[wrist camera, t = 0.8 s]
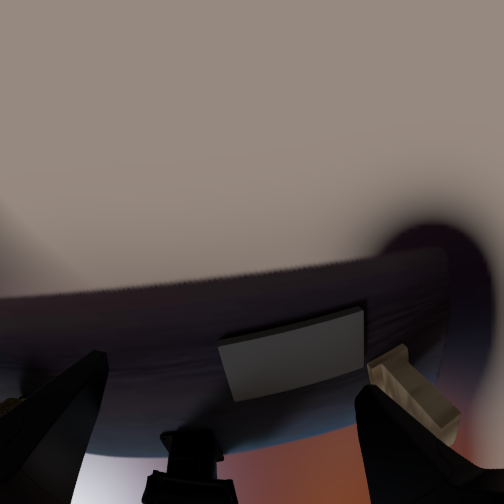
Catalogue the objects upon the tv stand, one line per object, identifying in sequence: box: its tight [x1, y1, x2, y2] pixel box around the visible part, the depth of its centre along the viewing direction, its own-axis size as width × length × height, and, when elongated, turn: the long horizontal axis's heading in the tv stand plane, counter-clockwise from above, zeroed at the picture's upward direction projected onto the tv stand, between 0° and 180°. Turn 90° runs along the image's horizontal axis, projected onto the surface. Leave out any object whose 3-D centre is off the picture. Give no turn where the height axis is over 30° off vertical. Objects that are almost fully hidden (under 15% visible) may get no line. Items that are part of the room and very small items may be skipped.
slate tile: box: [218, 306, 364, 402], centre depth 26 cm, size 7×14×1 cm, turn 101°
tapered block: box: [367, 343, 461, 446], centre depth 22 cm, size 6×5×13 cm
